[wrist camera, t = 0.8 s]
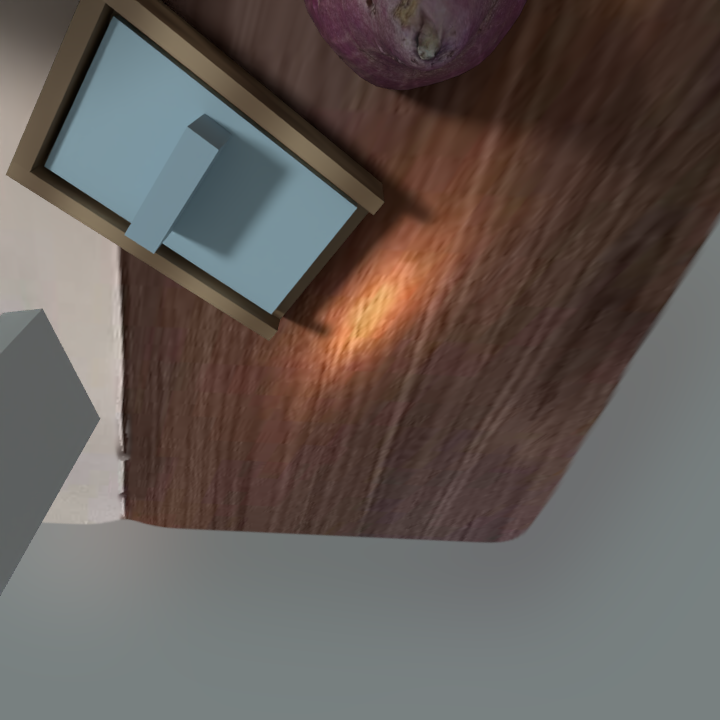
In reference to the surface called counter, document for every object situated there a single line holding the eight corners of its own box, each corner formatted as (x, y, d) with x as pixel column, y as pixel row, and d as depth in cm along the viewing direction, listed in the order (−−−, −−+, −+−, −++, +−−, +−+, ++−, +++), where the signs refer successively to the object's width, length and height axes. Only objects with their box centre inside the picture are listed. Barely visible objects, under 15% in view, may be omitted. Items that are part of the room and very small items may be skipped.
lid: (51, 162, 28) (11, 184, 25) (119, 15, 25) (83, 18, 22) (272, 308, 33) (263, 342, 30) (357, 203, 30) (357, 229, 26)
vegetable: (455, 87, 31) (517, 252, 22) (279, 26, 28) (260, 186, 19) (562, -148, 24) (729, -54, 14) (337, -262, 21) (353, -243, 11)
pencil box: (38, 158, 30) (5, 174, 27) (123, -30, 25) (94, -34, 23) (276, 313, 36) (269, 340, 33) (382, 183, 31) (384, 202, 28)
